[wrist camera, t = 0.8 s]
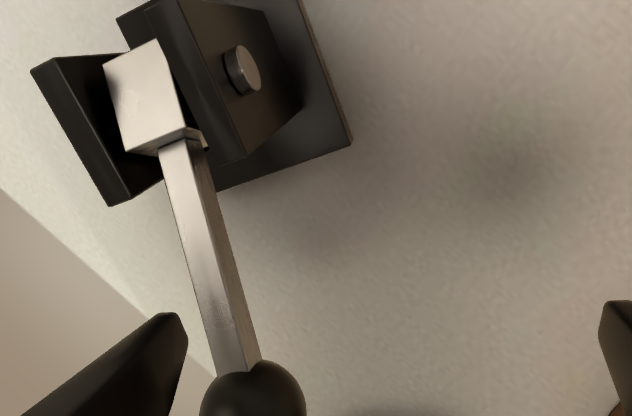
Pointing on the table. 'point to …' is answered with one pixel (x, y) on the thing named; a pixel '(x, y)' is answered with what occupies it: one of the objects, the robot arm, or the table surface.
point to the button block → (618, 411)
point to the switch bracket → (208, 92)
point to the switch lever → (199, 234)
